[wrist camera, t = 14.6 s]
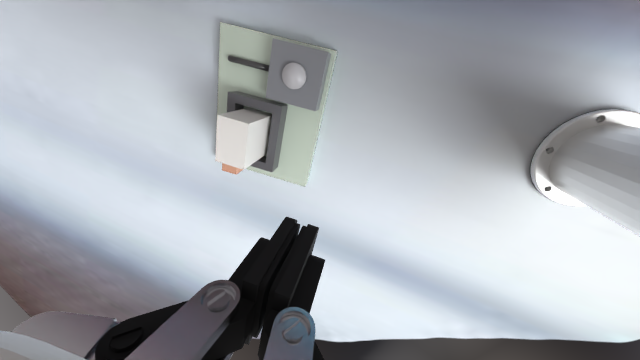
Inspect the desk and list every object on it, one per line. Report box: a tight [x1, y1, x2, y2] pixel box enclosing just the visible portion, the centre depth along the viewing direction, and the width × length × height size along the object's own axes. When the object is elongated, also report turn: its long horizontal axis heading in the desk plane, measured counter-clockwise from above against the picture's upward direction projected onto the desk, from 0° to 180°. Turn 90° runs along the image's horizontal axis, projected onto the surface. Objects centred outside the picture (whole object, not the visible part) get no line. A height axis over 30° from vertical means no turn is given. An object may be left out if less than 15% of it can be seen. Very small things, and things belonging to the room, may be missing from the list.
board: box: [216, 22, 337, 187], centre depth 33 cm, size 16×20×5 cm
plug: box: [215, 108, 272, 174], centre depth 32 cm, size 4×7×8 cm, turn 166°
